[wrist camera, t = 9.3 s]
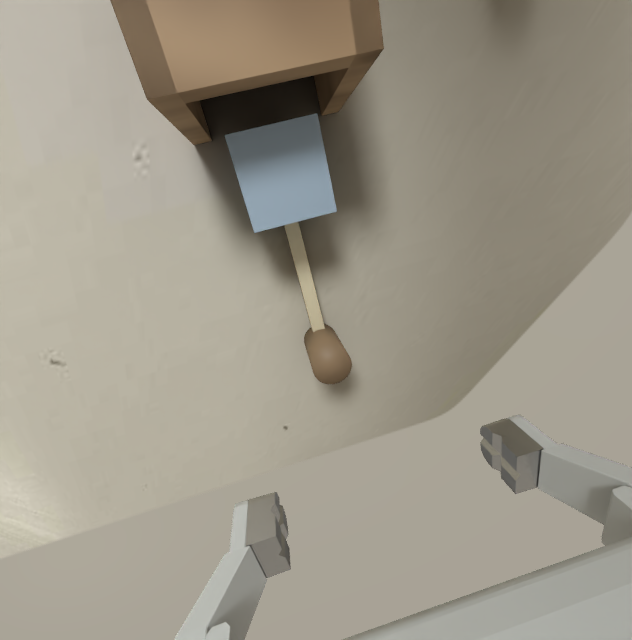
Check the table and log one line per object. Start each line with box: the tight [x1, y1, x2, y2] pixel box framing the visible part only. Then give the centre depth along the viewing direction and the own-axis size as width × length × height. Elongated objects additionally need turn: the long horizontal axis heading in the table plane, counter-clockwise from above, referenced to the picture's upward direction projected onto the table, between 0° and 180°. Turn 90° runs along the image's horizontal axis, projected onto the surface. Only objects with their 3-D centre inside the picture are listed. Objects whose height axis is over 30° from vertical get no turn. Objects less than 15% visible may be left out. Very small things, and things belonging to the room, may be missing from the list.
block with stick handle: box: [225, 113, 352, 384], centre depth 21 cm, size 16×5×5 cm, turn 13°
